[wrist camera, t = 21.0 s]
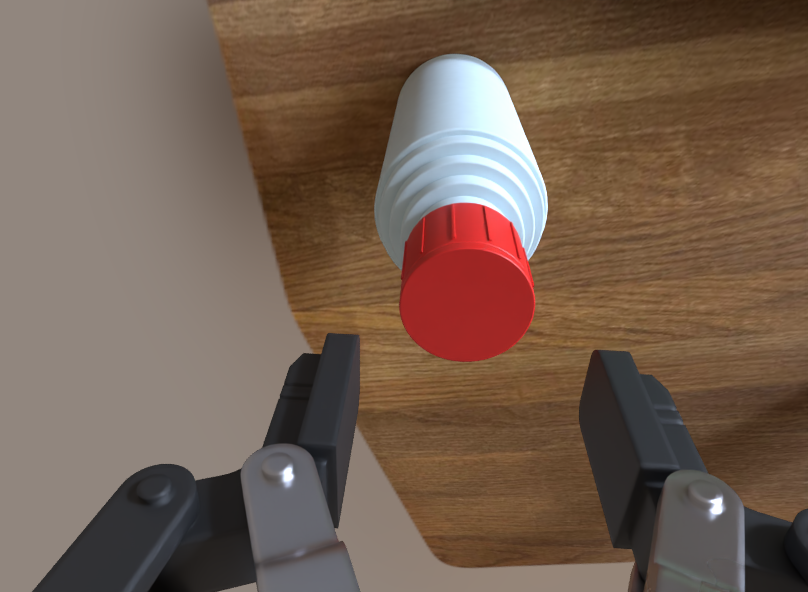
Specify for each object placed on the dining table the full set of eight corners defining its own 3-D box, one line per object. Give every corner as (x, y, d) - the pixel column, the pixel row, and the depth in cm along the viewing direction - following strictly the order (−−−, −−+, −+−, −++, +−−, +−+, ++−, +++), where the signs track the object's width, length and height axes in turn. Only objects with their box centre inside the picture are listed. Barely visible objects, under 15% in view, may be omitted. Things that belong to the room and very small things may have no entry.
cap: (402, 302, 21) (396, 358, 18) (406, 198, 19) (401, 243, 16) (514, 309, 21) (525, 366, 18) (530, 204, 19) (545, 251, 16)
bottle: (394, 164, 36) (355, 379, 19) (398, 50, 33) (354, 188, 16) (503, 170, 36) (559, 392, 19) (517, 56, 33) (601, 201, 16)
